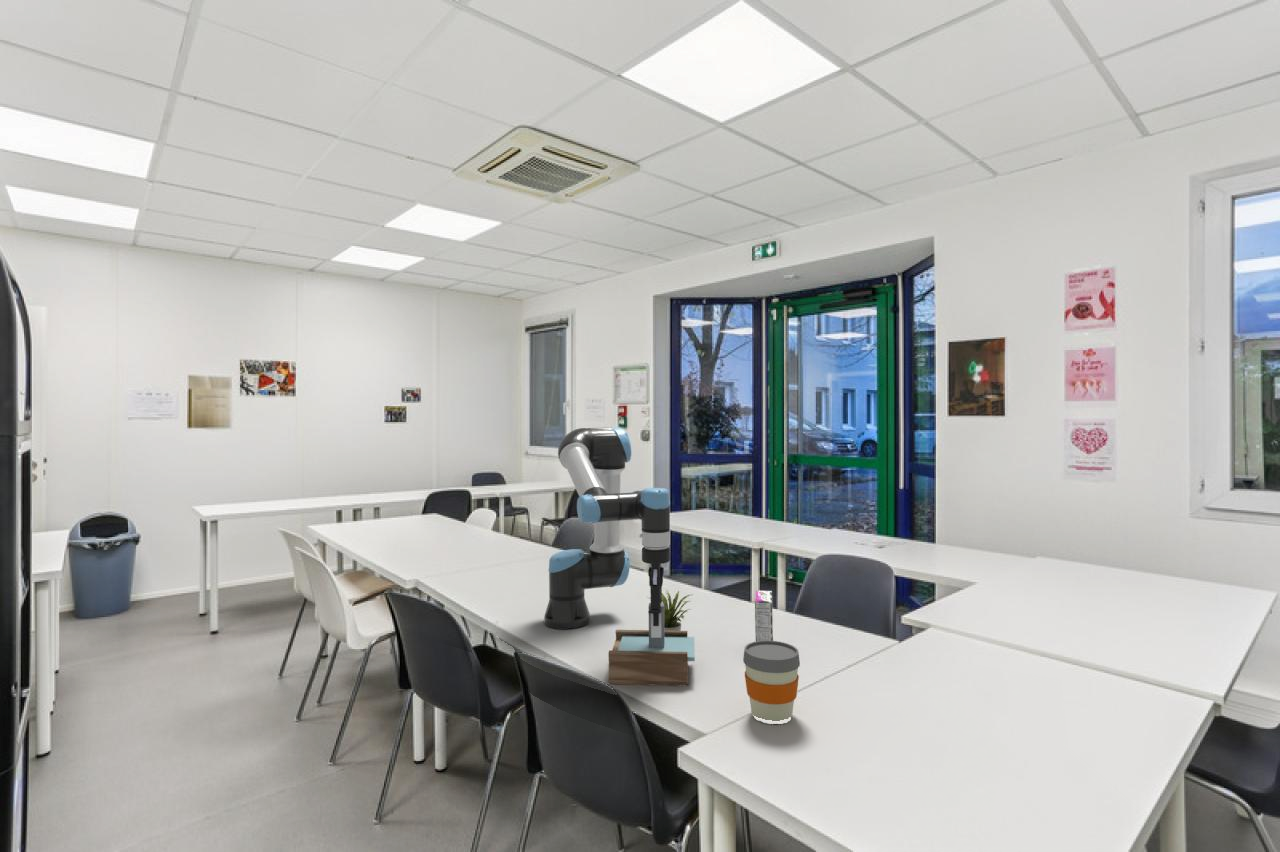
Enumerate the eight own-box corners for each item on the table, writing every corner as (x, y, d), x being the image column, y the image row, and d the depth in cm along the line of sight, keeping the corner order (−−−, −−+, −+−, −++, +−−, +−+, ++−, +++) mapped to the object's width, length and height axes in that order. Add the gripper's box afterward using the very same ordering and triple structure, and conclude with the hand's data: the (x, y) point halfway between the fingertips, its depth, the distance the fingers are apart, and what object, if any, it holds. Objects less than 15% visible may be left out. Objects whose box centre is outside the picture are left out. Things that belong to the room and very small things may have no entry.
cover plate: (622, 639, 177) (622, 596, 177) (694, 640, 175) (693, 597, 175) (616, 659, 162) (615, 612, 162) (694, 661, 160) (694, 614, 160)
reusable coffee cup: (789, 734, 135) (789, 664, 135) (734, 720, 142) (734, 653, 141) (807, 711, 146) (807, 646, 145) (755, 698, 152) (755, 636, 152)
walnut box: (616, 659, 178) (616, 629, 178) (687, 660, 177) (687, 630, 176) (608, 684, 161) (608, 652, 161) (687, 686, 159) (687, 653, 159)
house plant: (707, 645, 188) (707, 590, 188) (677, 658, 178) (677, 600, 178) (670, 634, 198) (670, 582, 198) (640, 646, 188) (640, 591, 188)
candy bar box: (755, 644, 188) (755, 589, 188) (773, 645, 187) (772, 590, 187) (755, 658, 177) (754, 600, 177) (773, 660, 176) (772, 601, 176)
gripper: (644, 540, 176) (644, 624, 177) (639, 553, 160) (640, 645, 161) (670, 540, 176) (671, 625, 176) (668, 553, 160) (669, 645, 160)
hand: (656, 634), depth 168 cm, fingers closed on cover plate, 3 cm apart
